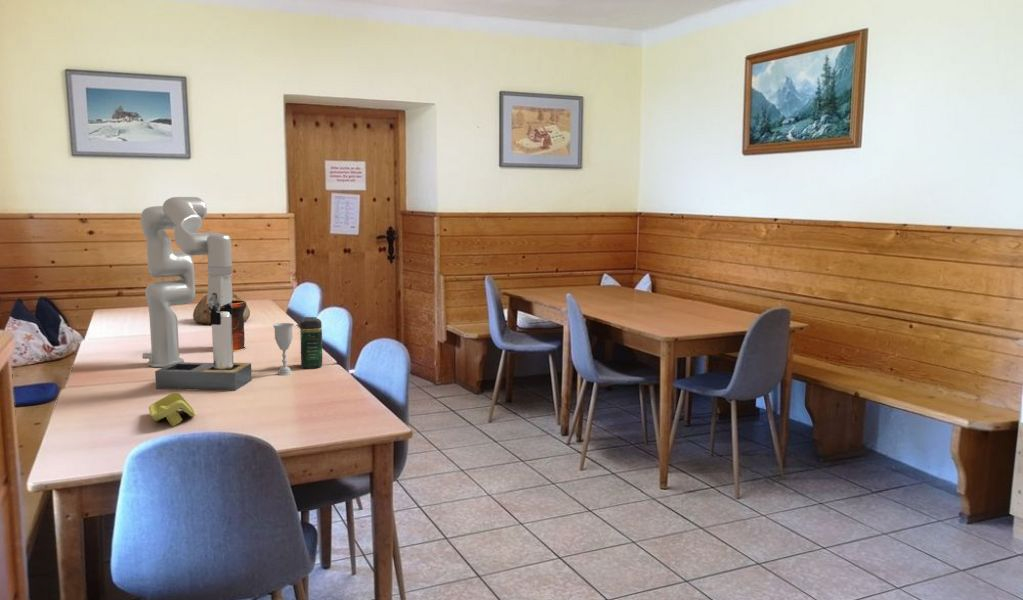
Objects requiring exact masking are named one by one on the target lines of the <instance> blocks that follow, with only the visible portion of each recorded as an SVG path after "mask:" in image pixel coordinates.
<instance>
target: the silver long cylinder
mask: <svg viewBox="0 0 1023 600" xmlns="http://www.w3.org/2000/svg"><path fill="white" fill-rule="evenodd" d="M219 313H220V316H221V324H220V325H211V337H212V338H211V339H212V340H211V341H212V356H213V357H212V358H213V363H214V370H233V369H234V363H235V362H234V351H233V341H232V320H231V314H230V312H219Z"/></svg>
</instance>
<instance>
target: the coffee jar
mask: <svg viewBox="0 0 1023 600" xmlns="http://www.w3.org/2000/svg"><path fill="white" fill-rule="evenodd" d="M299 322H300V325H299V327H300V359H301V360H300V364H301V365H300V366H301V367H302V368H303V369H306V368H307V369H316V368H321V367H322V366H323V330H322V329H323V327H322V321H321V319H319V318H317V317H316V316H306V317H304V318H302V319H301V320H300V321H299Z"/></svg>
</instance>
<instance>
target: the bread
mask: <svg viewBox="0 0 1023 600" xmlns="http://www.w3.org/2000/svg"><path fill="white" fill-rule="evenodd" d="M232 294H233V299H232V300H239V301H245V300H244V299H243V298H242V297H241V296H239V295H237V294H235V293H233V292H232ZM250 310H251V309H250V308H249V307H248V304H247V303H246V308H245V310H244V313H243V317H244V323H245V322H247V321H248V319H249V318H250V317H251V311H250ZM192 318H193V321H194V322H195V323H197V324H201V325H202V324H205V325H206V324H207V325H211V320H210V309H209V305H208V303H207V294H206V295H204V296H203V297H202V298H201V299H200V301H198V303H197V304H196V306H195V308H194V310H193V312H192Z"/></svg>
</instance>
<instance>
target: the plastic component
mask: <svg viewBox="0 0 1023 600" xmlns="http://www.w3.org/2000/svg"><path fill="white" fill-rule="evenodd" d="M178 410H182V411H183V412H184V413H186V414H187V415H188V416H189V417H192V418H193V417H195V416H196V415H197V414H196V412H195V411H194V408H193V407H191V405H190V404H189V402H188V401H187V400H186V399H185V398H184V397H183V396H182V394H180V392H178V391H173V392H171V393H169V394H168V395H166V396H164V397H162V398H161V399H159V400H156V401H154V403H152V404H151V405H149V406H148V411H149V416H150V417H151V418H152V419H153V421H154V422H159V421H160V420H162V419H164V418H166V420H167V421H168V423H169V424H170V426H171V427H173V426H176V425H178V424H180V423H181V422H182V421H183V418H182V416H181V415H180V413H179V411H178Z"/></svg>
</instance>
